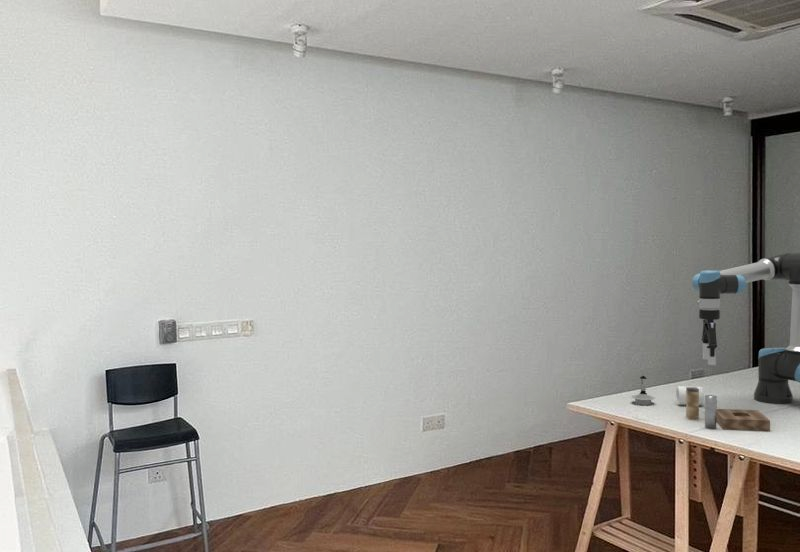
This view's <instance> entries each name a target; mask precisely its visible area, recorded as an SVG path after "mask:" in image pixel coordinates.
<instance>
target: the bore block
mask: <svg viewBox="0 0 800 552" xmlns="http://www.w3.org/2000/svg"><path fill="white" fill-rule="evenodd" d="M716 424H718V426H719V427H720V428H721V429H722V430H726V431H727V430H731V431H735V430H736V431H753V432H754V431H755V432H771V420H770V419H769V418H768V417H767V416H765V415H764V414H763V413H762V412H761V411H760V410H758V409H757V410H755V409H752V410H751V409H730V408H729V409H726V408H725V409H724V408H717V420H716Z"/></svg>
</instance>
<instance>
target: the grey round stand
mask: <svg viewBox="0 0 800 552" xmlns="http://www.w3.org/2000/svg"><path fill="white" fill-rule="evenodd" d="M639 379H640V381H641V385H640V387H642V386H644V385H643V383H644V382H643V380H646V379H647V377H646V376H645V375H642V376H640V377H639ZM646 390H647V388H646V387H642V388H640V392H639V394H634V395H631V396H630V397H631V399H634V400H635V404H636V405H638V406H639V405H640V406H650V405H652V401H653V400H655V399H656V397H655V396H653V395H649V394H647V393H648V392H646Z"/></svg>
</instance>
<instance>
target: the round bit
mask: <svg viewBox="0 0 800 552" xmlns="http://www.w3.org/2000/svg"><path fill="white" fill-rule="evenodd" d="M717 409H718V407H717V395H715V394H714V395H712V394H704V428H705V429H708V430H716V429H717V422H716V420H717Z"/></svg>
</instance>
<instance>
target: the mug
mask: <svg viewBox="0 0 800 552" xmlns="http://www.w3.org/2000/svg"><path fill="white" fill-rule="evenodd" d="M686 387H688V386H682V385H680V386H676V389H675V399H676V404H677V405H678V406H686ZM696 387H697V388H698V389H699V407H700V406H701V407H702V406H703V405H705V392H704V389H703V387H702V386H696Z"/></svg>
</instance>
